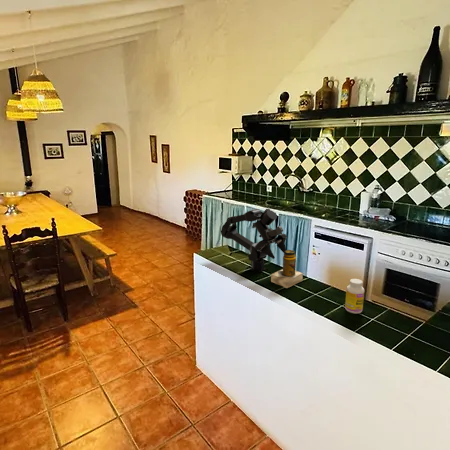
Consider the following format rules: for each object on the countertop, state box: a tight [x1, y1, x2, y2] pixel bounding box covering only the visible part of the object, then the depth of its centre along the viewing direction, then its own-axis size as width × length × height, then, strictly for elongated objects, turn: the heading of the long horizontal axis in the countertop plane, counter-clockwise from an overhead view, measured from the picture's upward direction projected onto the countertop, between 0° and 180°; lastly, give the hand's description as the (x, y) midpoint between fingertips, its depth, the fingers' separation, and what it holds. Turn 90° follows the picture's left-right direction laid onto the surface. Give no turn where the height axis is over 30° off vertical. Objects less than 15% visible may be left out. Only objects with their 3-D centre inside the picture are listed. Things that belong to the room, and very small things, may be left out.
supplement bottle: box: [344, 278, 365, 315], centre depth 128 cm, size 7×7×13 cm
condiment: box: [277, 249, 297, 277], centre depth 155 cm, size 7×8×12 cm
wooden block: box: [270, 268, 304, 289], centre depth 157 cm, size 10×12×4 cm
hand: (280, 256), depth 158 cm, fingers open, 9 cm apart
